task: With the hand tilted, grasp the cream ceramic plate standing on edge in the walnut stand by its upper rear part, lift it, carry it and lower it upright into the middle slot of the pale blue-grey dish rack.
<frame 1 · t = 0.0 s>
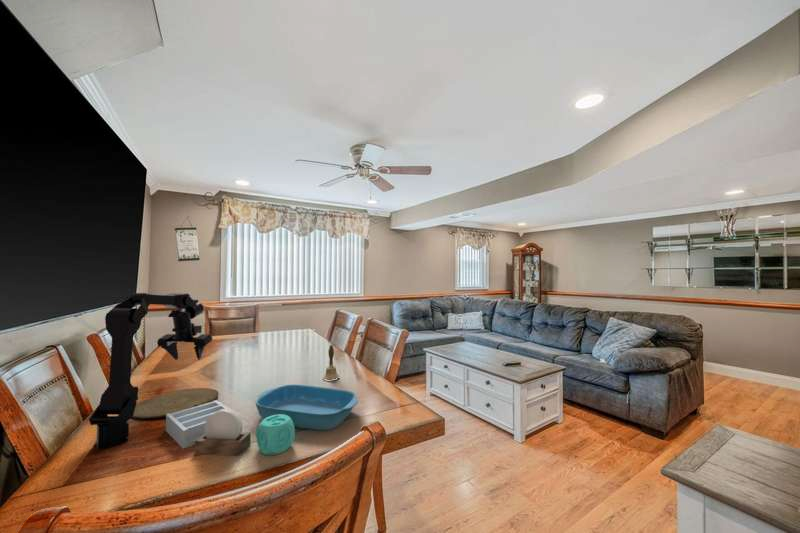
hand: (188, 359, 130), 15 cm above the table, tool pointing down, fingers open, 9 cm apart
hand bell: (331, 379, 153), on the table
plate: (223, 427, 92), point 6 cm above the table, touching stand
decorative disc: (178, 405, 123), on the table
stand: (223, 448, 92), on the table
casserole dish: (307, 417, 113), on the table
decorative dice: (275, 448, 93), on the table
rack: (201, 429, 103), on the table
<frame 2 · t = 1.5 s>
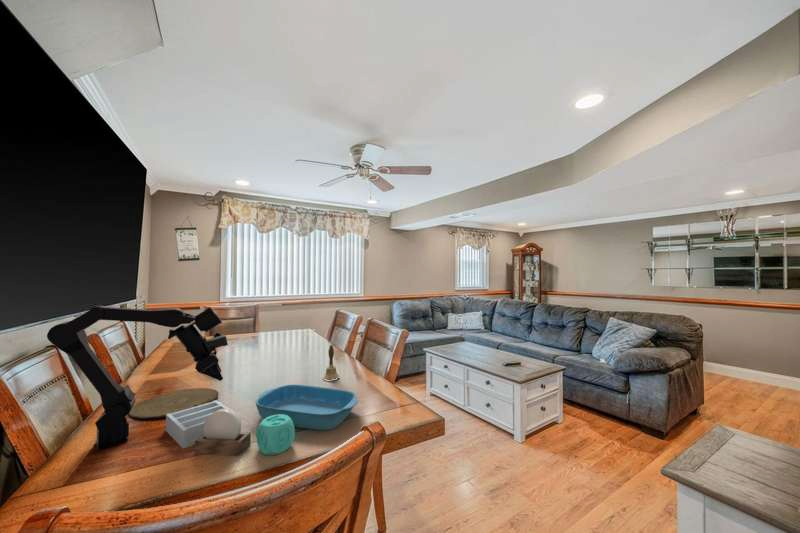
hand: (221, 376, 110), 15 cm above the table, tool tilted 35°, fingers open, 9 cm apart
nothing on the table moved.
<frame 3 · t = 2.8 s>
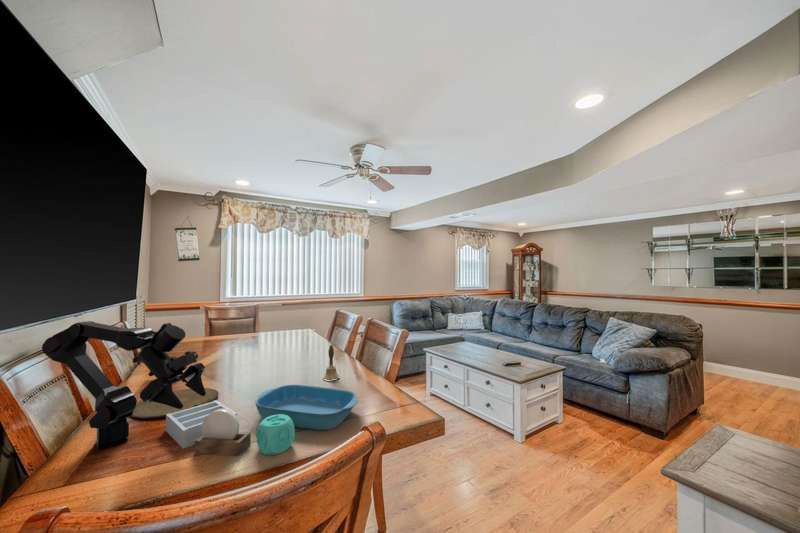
hand: (193, 401, 93), 13 cm above the table, tool tilted 45°, fingers open, 9 cm apart
plate: (220, 427, 92), point 6 cm above the table, tilted 11°, touching stand
everything else where it was.
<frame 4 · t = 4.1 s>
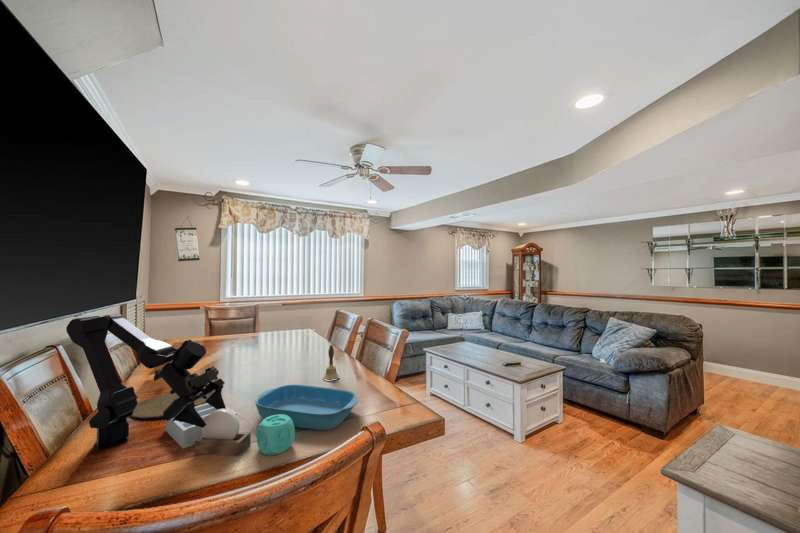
hand: (215, 418, 92), 8 cm above the table, tool tilted 45°, fingers open, 9 cm apart
nothing on the table moved.
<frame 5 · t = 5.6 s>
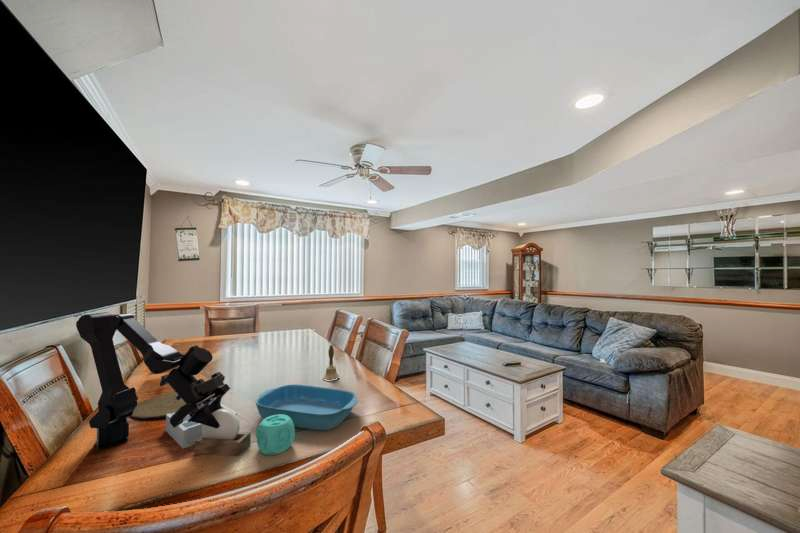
hand: (221, 424, 92), 7 cm above the table, tool tilted 45°, fingers closed on plate, 2 cm apart
plate: (221, 427, 92), point 6 cm above the table, tilted 10°, touching gripper, stand
everything else where it was.
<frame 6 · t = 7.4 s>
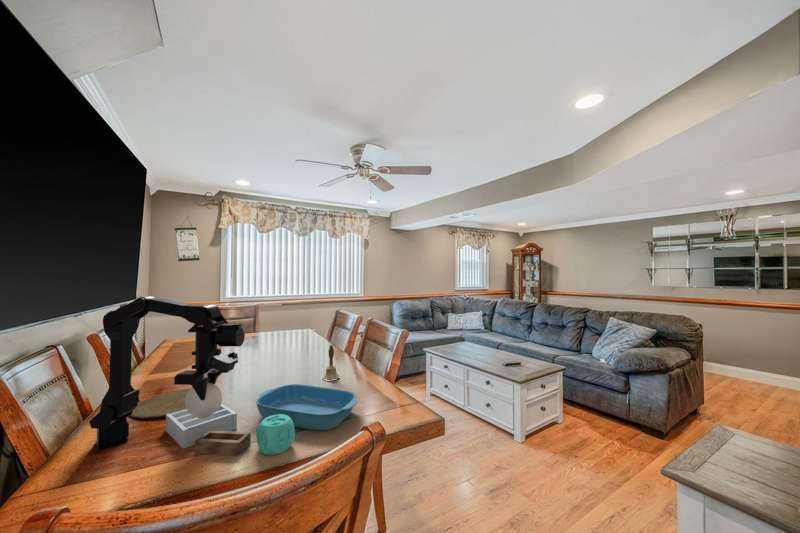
hand: (205, 398, 96), 13 cm above the table, tool pointing down, fingers closed on plate, 2 cm apart
plate: (203, 399, 96), point 12 cm above the table, tilted 35°, touching gripper
everything else where it was.
when the fingers open (9 cm above the table, at t = 8.9 s): plate drops 2 cm, resting on rack.
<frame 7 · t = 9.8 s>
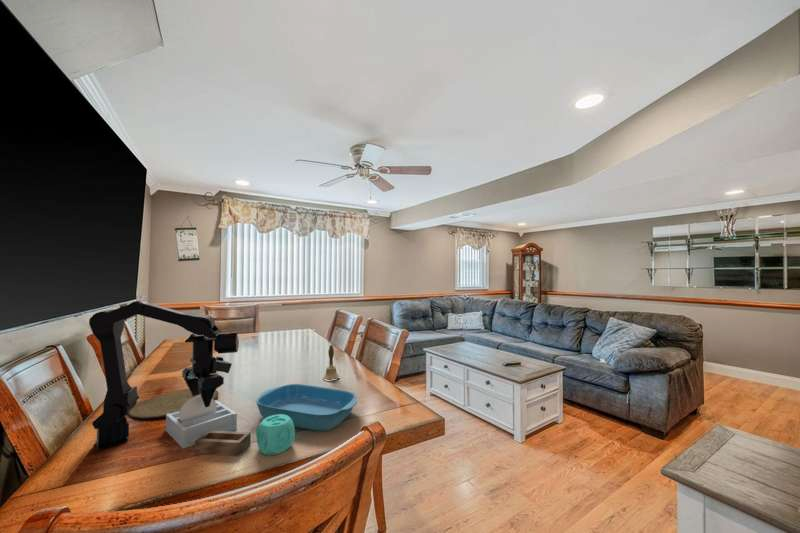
hand: (201, 402, 103), 9 cm above the table, tool pointing down, fingers open, 9 cm apart
plate: (198, 411, 102), point 6 cm above the table, tilted 30°, touching rack
everything else where it was.
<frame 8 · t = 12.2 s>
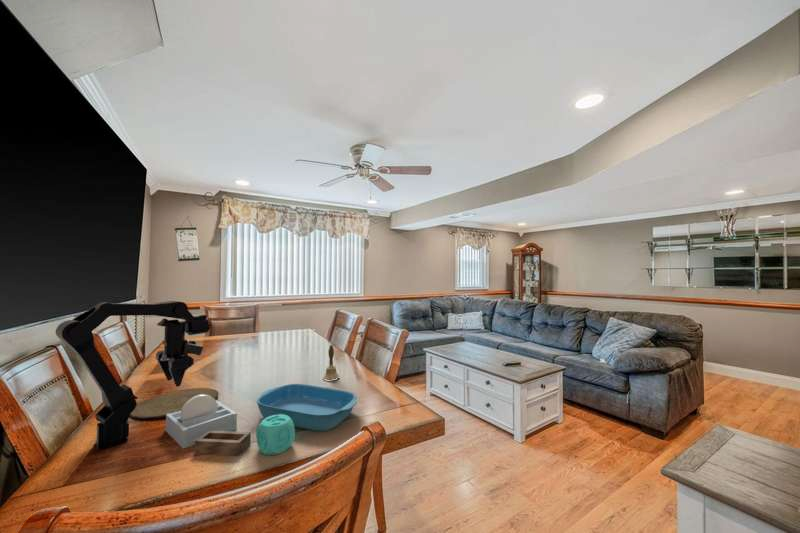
hand: (173, 383, 109), 13 cm above the table, tool pointing down, fingers open, 9 cm apart
nothing on the table moved.
at the end: plate 0.5 cm from the rack (horizontally); plate point 6.2 cm above the table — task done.
